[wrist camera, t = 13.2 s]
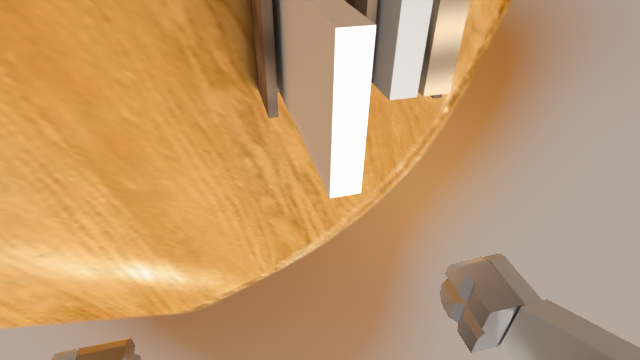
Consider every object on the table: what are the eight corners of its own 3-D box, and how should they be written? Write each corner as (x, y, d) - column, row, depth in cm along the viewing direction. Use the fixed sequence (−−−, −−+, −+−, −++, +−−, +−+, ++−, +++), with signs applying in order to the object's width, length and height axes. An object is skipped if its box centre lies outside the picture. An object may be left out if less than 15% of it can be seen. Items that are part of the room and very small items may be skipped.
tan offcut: (394, -32, 43) (442, -11, 35) (420, -33, 43) (472, -13, 36) (384, 61, 49) (423, 96, 41) (407, 59, 49) (449, 93, 42)
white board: (267, -38, 39) (335, 27, 22) (291, -39, 40) (376, 24, 23) (274, 80, 46) (329, 198, 29) (294, 78, 47) (361, 193, 30)
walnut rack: (246, -57, 38) (257, -46, 33) (435, -61, 43) (472, -52, 38) (258, 90, 47) (268, 118, 42) (414, 74, 52) (441, 97, 46)
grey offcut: (361, -30, 42) (403, -9, 34) (388, -32, 42) (435, -11, 35) (355, 64, 48) (389, 100, 40) (379, 62, 48) (417, 97, 41)
